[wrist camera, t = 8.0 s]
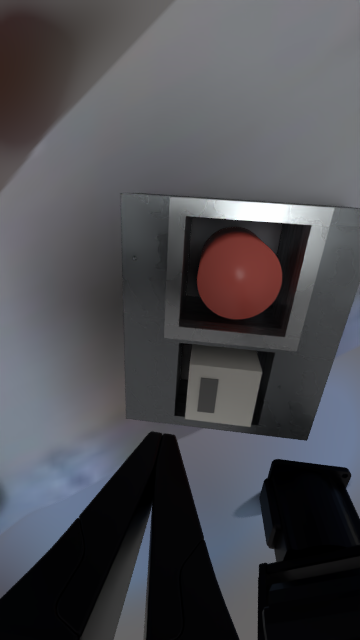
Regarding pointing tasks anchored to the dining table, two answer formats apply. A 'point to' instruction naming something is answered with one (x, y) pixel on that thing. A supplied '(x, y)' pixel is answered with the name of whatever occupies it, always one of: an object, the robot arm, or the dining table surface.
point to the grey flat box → (251, 333)
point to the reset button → (238, 274)
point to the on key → (222, 385)
